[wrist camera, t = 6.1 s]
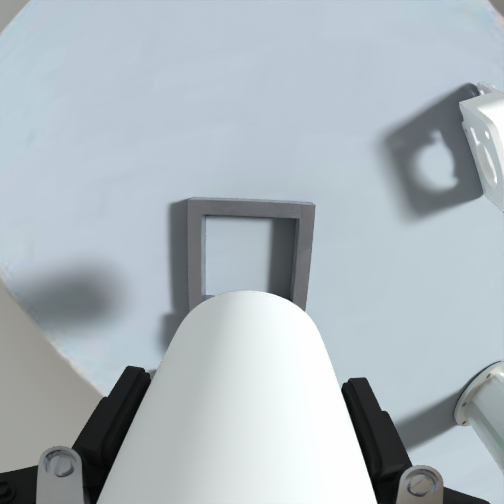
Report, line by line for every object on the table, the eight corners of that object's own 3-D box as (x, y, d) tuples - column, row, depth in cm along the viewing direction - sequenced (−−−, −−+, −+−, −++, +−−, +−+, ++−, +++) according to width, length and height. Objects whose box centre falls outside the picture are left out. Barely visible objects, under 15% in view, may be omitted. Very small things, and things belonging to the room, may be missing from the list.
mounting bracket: (443, 94, 25) (471, 84, 16) (485, 80, 22) (523, 69, 13) (478, 191, 28) (512, 220, 19) (517, 177, 24) (560, 201, 15)
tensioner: (310, 202, 26) (327, 211, 20) (294, 358, 30) (302, 397, 24) (192, 197, 26) (174, 204, 20) (195, 354, 30) (183, 392, 24)
